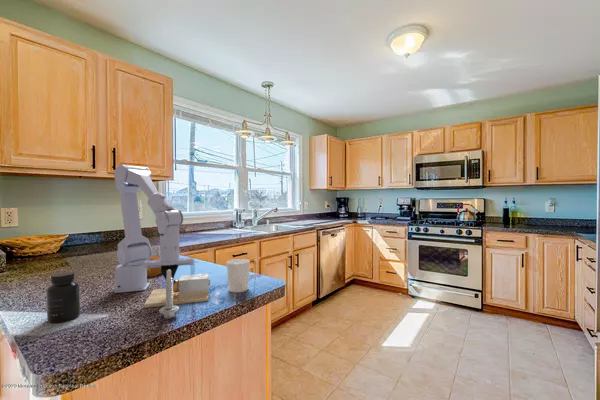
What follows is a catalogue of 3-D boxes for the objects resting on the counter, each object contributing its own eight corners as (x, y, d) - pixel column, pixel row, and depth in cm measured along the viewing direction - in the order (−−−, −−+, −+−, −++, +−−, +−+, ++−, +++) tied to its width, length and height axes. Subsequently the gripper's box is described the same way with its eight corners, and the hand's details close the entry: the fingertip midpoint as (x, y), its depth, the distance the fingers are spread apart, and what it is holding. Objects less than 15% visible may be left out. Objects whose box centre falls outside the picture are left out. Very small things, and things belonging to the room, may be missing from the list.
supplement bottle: (60, 313, 78) (59, 270, 78) (86, 312, 78) (85, 270, 78) (39, 324, 71) (38, 277, 71) (67, 323, 72) (67, 277, 72)
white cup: (253, 287, 100) (253, 259, 100) (242, 294, 93) (242, 264, 93) (234, 285, 103) (234, 258, 103) (222, 291, 95) (222, 262, 95)
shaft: (173, 294, 89) (172, 282, 88) (174, 290, 92) (174, 278, 92) (210, 290, 92) (210, 278, 92) (210, 287, 96) (210, 275, 96)
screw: (173, 320, 73) (155, 320, 73) (182, 313, 78) (165, 312, 78) (173, 271, 73) (155, 271, 73) (181, 266, 78) (165, 266, 78)
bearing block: (143, 307, 82) (143, 287, 82) (153, 292, 95) (153, 275, 95) (208, 300, 87) (208, 281, 87) (208, 287, 100) (208, 270, 100)
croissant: (175, 273, 127) (176, 255, 129) (156, 278, 112) (158, 258, 113) (144, 272, 128) (146, 254, 129) (121, 277, 113) (124, 257, 114)
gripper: (141, 250, 84) (141, 295, 84) (192, 247, 88) (193, 290, 88) (146, 246, 91) (147, 287, 91) (194, 244, 95) (194, 283, 95)
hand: (170, 288), depth 90 cm, fingers closed
